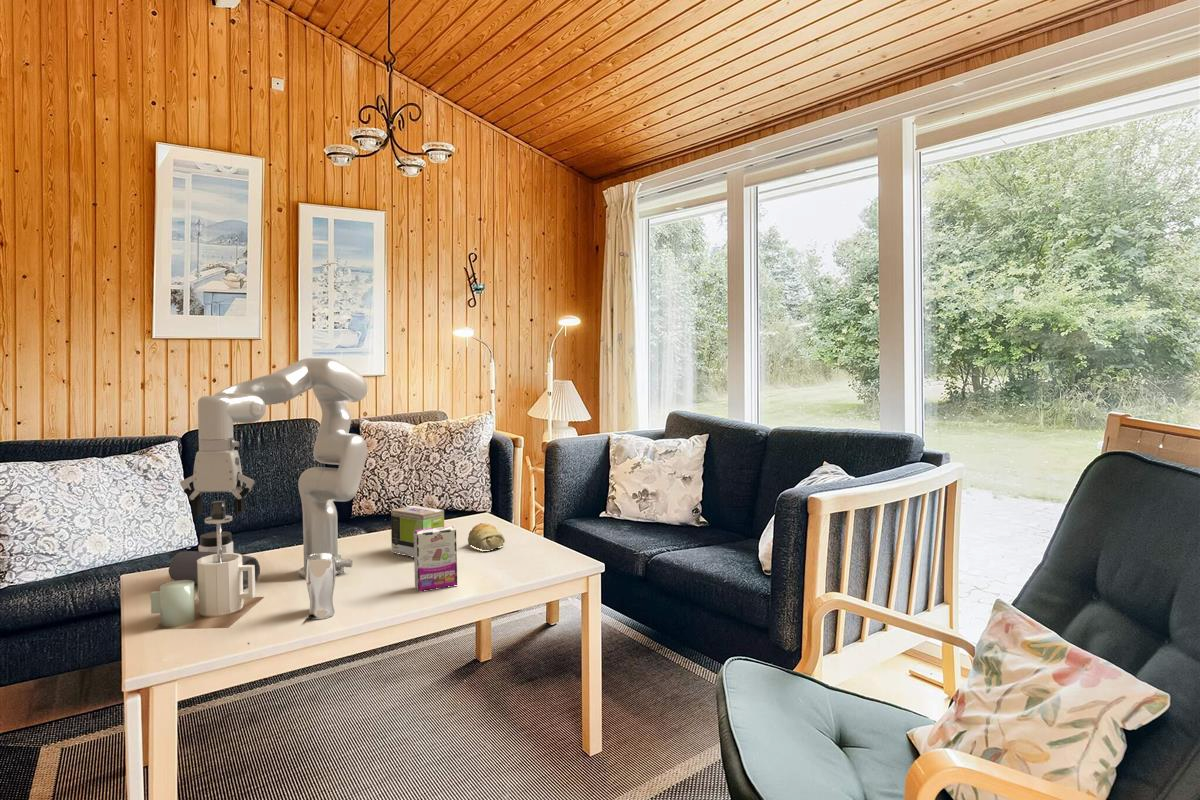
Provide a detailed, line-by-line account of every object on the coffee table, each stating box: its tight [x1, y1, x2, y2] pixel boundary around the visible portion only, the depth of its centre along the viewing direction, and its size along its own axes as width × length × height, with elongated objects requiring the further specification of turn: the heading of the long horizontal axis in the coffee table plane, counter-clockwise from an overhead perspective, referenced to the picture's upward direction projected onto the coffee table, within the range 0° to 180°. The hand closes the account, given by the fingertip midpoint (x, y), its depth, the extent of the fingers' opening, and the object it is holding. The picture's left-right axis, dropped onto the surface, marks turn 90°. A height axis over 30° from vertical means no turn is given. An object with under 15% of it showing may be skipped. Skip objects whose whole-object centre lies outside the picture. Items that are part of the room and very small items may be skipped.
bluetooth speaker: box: [168, 550, 261, 589], centre depth 194 cm, size 23×9×10 cm, turn 77°
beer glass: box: [305, 552, 337, 620], centre depth 174 cm, size 7×7×15 cm
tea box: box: [390, 505, 445, 558], centre depth 228 cm, size 15×10×15 cm, turn 58°
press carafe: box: [197, 552, 256, 617], centre depth 174 cm, size 13×10×13 cm
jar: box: [198, 530, 234, 553], centre depth 205 cm, size 9×8×12 cm
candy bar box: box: [413, 525, 458, 592], centre depth 195 cm, size 11×5×16 cm, turn 117°
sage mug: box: [150, 580, 196, 627], centre depth 166 cm, size 9×7×9 cm
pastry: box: [467, 523, 506, 550], centre depth 237 cm, size 14×12×8 cm
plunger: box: [204, 500, 233, 563], centre depth 173 cm, size 7×7×17 cm
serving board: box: [152, 596, 265, 630], centre depth 172 cm, size 17×21×1 cm
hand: (218, 514), depth 173 cm, fingers open, 9 cm apart
